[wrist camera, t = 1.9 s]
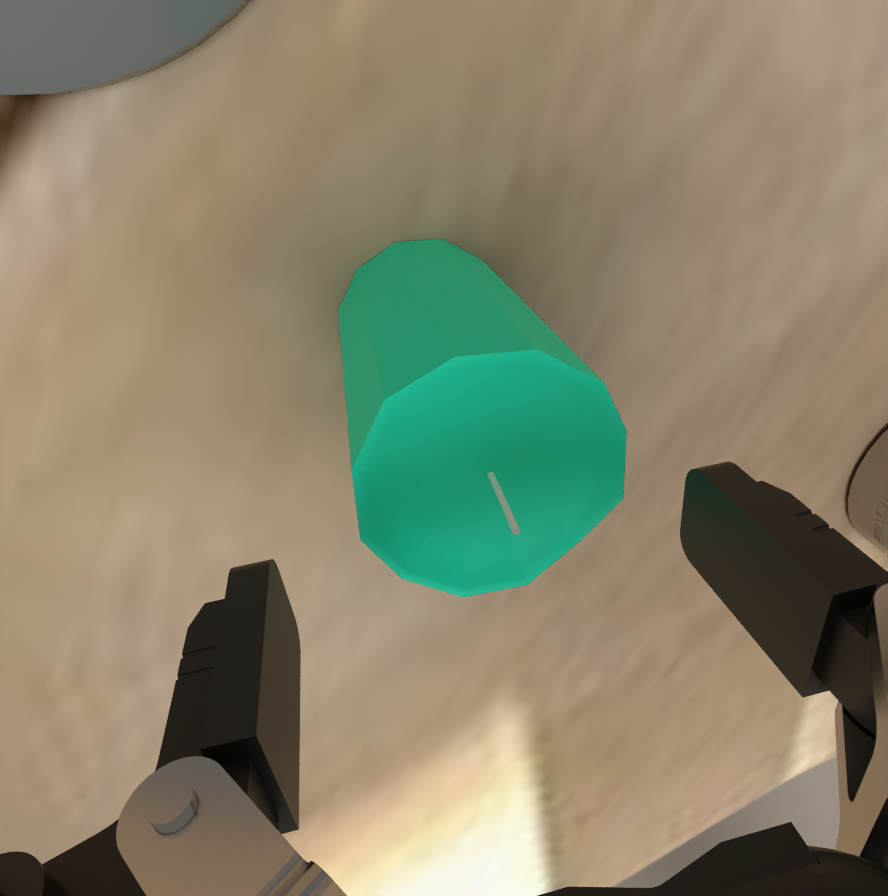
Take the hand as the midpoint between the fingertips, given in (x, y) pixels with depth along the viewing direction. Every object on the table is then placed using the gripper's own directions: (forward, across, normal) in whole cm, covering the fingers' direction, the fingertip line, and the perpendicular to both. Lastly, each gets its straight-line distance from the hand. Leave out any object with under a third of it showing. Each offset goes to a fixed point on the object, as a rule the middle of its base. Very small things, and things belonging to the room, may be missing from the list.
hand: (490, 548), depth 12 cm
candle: (+12, -1, 0) cm, 12 cm away
